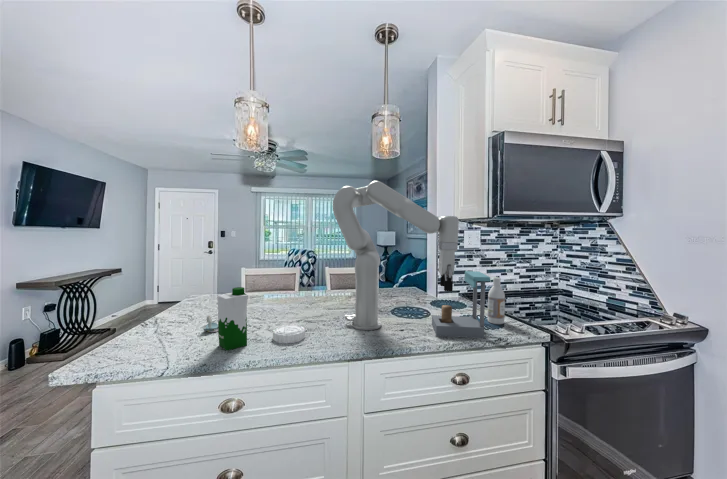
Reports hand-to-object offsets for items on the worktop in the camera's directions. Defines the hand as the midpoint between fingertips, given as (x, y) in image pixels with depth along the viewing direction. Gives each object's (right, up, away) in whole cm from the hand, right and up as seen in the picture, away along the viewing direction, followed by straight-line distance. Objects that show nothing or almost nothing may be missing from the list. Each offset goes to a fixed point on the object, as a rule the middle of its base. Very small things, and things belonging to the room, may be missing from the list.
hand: (446, 288), depth 125 cm
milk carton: (-80, -18, -17) cm, 83 cm away
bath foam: (+26, -17, +12) cm, 33 cm away
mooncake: (-62, -18, -8) cm, 65 cm away
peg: (0, -17, +1) cm, 17 cm away
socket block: (+4, -17, 0) cm, 18 cm away
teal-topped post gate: (+12, -17, 0) cm, 21 cm away
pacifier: (-94, -17, -1) cm, 96 cm away
